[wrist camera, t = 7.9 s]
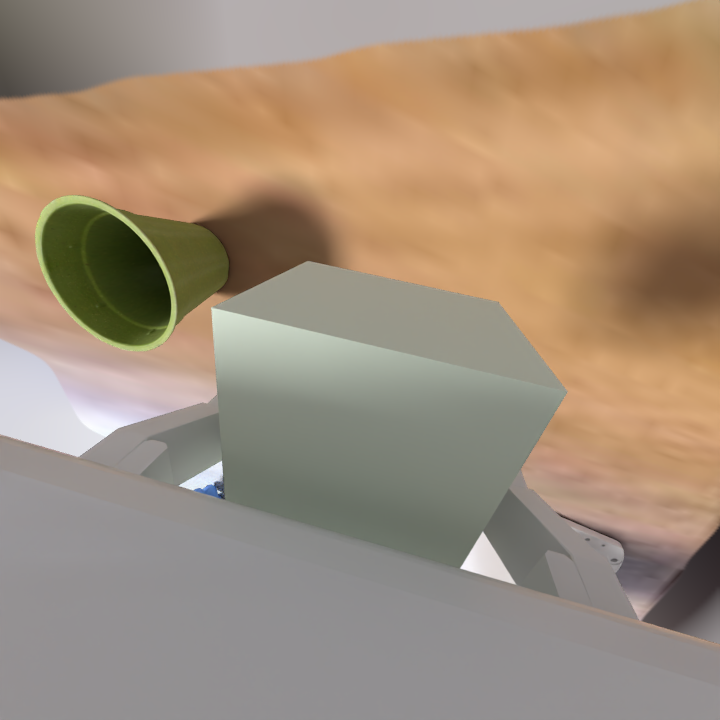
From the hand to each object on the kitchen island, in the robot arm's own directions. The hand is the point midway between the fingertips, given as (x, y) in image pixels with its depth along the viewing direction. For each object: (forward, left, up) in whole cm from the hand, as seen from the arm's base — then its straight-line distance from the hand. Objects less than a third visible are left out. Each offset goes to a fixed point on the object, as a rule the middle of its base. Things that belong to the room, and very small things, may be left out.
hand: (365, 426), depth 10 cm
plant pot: (+22, +3, -23) cm, 32 cm away
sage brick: (0, 0, -2) cm, 2 cm away
